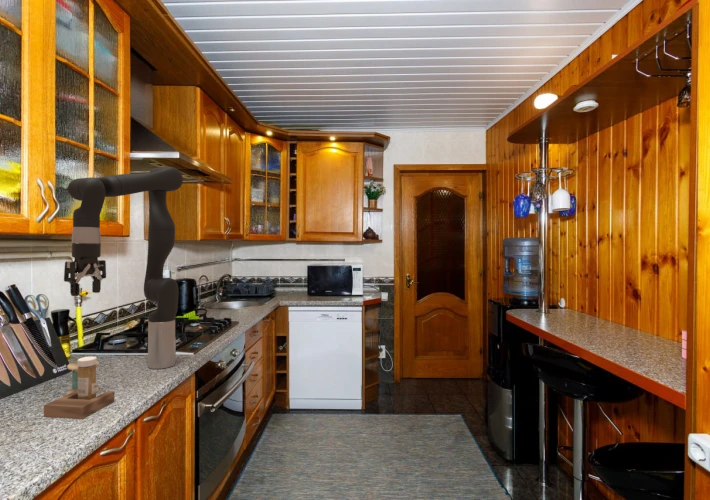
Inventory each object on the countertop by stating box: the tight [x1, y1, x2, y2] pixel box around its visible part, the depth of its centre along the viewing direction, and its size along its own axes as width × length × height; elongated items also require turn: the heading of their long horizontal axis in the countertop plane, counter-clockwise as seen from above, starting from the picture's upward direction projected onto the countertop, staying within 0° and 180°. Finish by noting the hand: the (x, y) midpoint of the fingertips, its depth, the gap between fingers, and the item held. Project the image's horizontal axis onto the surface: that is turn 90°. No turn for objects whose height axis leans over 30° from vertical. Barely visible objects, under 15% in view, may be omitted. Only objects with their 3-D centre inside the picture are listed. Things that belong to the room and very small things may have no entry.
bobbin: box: [66, 360, 100, 395], centre depth 124 cm, size 8×8×9 cm
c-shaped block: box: [43, 390, 115, 420], centre depth 112 cm, size 12×11×3 cm
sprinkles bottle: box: [77, 356, 98, 400], centre depth 115 cm, size 5×5×14 cm
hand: (86, 294), depth 126 cm, fingers open, 8 cm apart
